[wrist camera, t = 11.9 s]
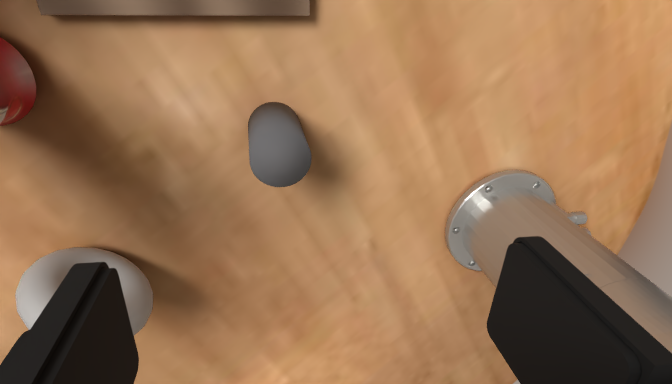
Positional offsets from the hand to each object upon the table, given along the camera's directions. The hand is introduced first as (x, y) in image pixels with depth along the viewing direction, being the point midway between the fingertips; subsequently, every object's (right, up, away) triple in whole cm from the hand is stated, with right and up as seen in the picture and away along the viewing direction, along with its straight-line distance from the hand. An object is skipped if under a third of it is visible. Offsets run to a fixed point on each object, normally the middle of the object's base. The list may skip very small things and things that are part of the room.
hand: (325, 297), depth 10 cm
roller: (-5, +8, +25) cm, 27 cm away
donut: (-21, -4, +28) cm, 35 cm away
